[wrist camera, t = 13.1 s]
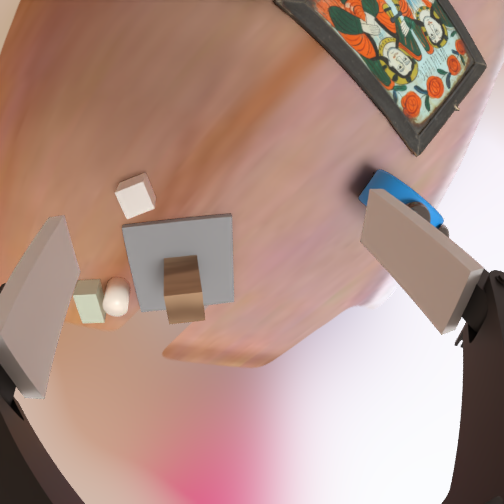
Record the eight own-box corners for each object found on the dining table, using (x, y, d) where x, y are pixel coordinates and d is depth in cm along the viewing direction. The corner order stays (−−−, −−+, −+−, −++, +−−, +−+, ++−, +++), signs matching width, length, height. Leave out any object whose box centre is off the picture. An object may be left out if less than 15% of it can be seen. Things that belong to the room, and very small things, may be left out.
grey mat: (122, 224, 44) (121, 227, 43) (231, 213, 47) (232, 216, 46) (141, 308, 52) (141, 312, 51) (233, 298, 55) (234, 301, 54)
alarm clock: (409, 196, 52) (464, 237, 40) (390, 223, 54) (440, 269, 42) (364, 158, 46) (425, 194, 34) (342, 189, 49) (396, 234, 36)
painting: (369, -80, 24) (377, -85, 22) (481, 64, 41) (490, 65, 39) (265, 7, 32) (270, 3, 30) (414, 159, 49) (422, 163, 47)
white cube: (119, 182, 40) (114, 192, 37) (145, 171, 41) (143, 181, 37) (130, 207, 43) (127, 219, 39) (156, 197, 43) (154, 208, 39)
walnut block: (164, 258, 47) (163, 296, 39) (196, 254, 48) (202, 292, 40) (168, 284, 49) (169, 324, 42) (199, 281, 50) (205, 320, 43)
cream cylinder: (104, 278, 47) (99, 297, 43) (127, 275, 48) (124, 295, 44) (110, 297, 50) (106, 317, 45) (132, 295, 50) (130, 315, 46)
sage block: (78, 279, 47) (72, 295, 43) (99, 278, 47) (95, 294, 44) (86, 307, 50) (82, 323, 46) (107, 306, 51) (104, 322, 47)
